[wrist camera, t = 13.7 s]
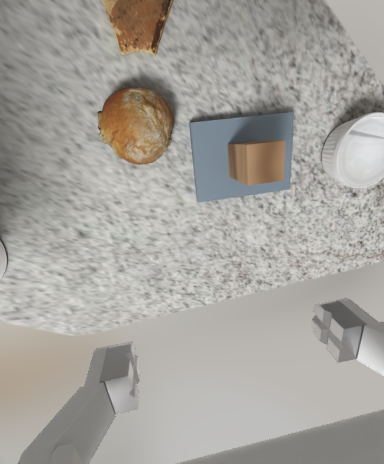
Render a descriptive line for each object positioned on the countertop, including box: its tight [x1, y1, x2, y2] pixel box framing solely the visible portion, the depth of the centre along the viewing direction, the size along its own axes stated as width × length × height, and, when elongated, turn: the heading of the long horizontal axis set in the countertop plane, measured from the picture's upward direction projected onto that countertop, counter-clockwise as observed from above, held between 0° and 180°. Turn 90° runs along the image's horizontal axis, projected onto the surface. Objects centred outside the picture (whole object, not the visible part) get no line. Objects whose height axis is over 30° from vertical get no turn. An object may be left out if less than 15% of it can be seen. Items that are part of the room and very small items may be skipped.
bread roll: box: [98, 88, 174, 165], centre depth 33 cm, size 10×10×8 cm
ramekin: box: [322, 112, 384, 188], centre depth 39 cm, size 11×11×5 cm
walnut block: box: [228, 140, 285, 185], centre depth 34 cm, size 5×5×8 cm
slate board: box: [189, 112, 293, 202], centre depth 38 cm, size 16×12×2 cm
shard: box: [102, 0, 172, 55], centre depth 30 cm, size 11×8×2 cm
